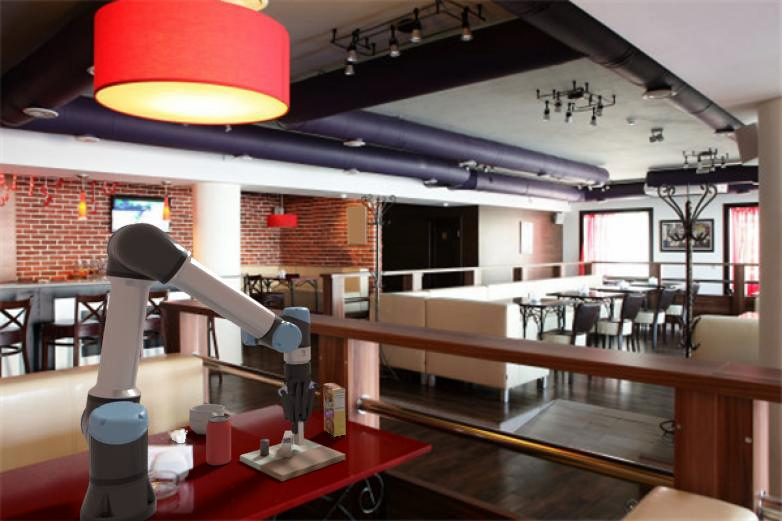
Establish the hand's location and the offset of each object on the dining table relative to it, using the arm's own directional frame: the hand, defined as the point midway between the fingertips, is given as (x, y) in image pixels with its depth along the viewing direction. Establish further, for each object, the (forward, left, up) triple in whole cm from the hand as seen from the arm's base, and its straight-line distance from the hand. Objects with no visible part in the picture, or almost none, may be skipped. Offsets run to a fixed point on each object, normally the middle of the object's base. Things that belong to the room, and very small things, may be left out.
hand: (298, 444), depth 161 cm
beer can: (-19, +11, -3) cm, 22 cm away
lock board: (-4, -2, -3) cm, 5 cm away
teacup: (-9, +36, -3) cm, 37 cm away
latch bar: (-3, +1, -1) cm, 4 cm away
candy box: (+19, +7, -3) cm, 21 cm away
